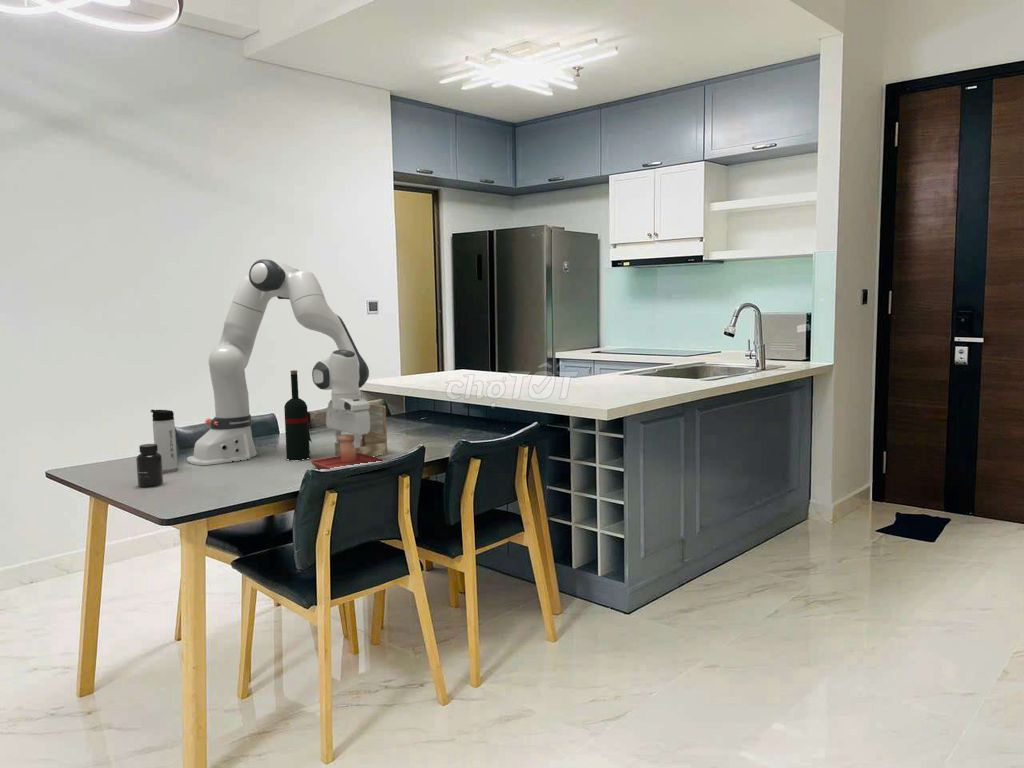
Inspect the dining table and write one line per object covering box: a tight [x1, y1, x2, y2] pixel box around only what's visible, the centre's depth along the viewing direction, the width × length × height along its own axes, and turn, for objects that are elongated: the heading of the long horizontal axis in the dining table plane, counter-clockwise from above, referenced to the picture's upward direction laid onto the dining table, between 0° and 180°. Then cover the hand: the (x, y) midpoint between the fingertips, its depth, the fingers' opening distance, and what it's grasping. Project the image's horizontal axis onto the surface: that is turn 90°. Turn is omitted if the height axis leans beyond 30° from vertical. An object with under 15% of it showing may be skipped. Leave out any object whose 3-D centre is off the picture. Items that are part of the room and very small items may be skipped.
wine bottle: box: [284, 370, 313, 461], centre depth 259 cm, size 8×10×30 cm
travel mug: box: [150, 409, 179, 474], centre depth 243 cm, size 6×7×20 cm
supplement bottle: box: [136, 443, 164, 488], centre depth 226 cm, size 7×7×12 cm
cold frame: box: [334, 403, 388, 457], centre depth 264 cm, size 12×14×17 cm
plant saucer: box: [310, 453, 384, 470], centre depth 243 cm, size 18×18×3 cm
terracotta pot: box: [338, 433, 356, 462], centre depth 242 cm, size 6×6×8 cm
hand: (348, 445), depth 242 cm, fingers open, 8 cm apart
